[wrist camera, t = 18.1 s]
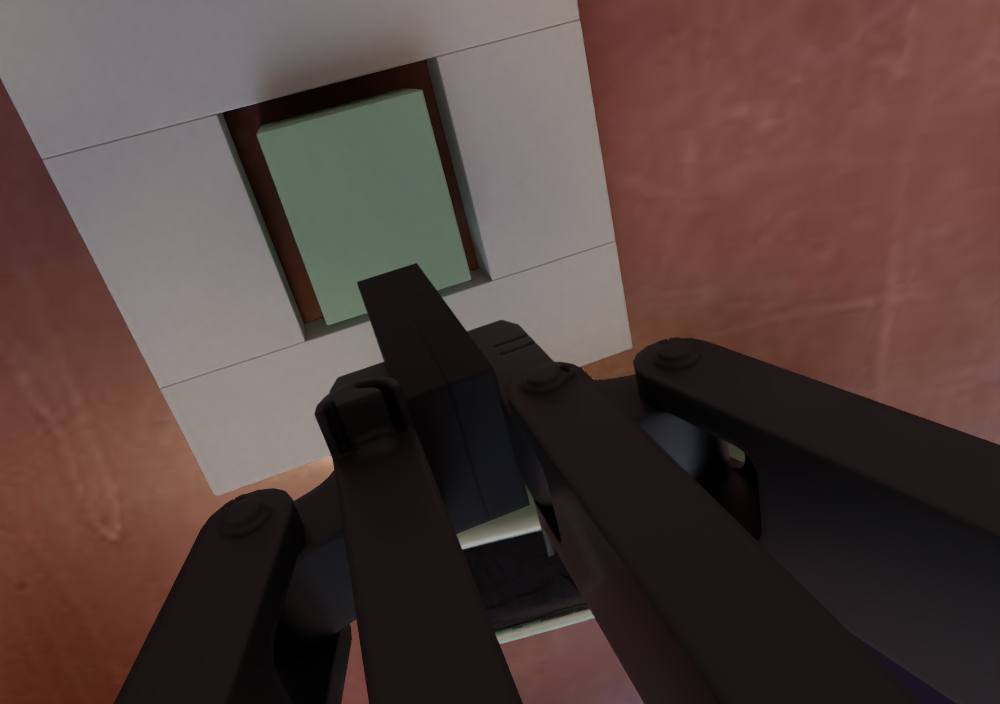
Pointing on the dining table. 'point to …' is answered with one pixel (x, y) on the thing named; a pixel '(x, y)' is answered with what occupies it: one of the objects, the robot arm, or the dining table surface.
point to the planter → (525, 574)
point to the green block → (365, 196)
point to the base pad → (236, 215)
